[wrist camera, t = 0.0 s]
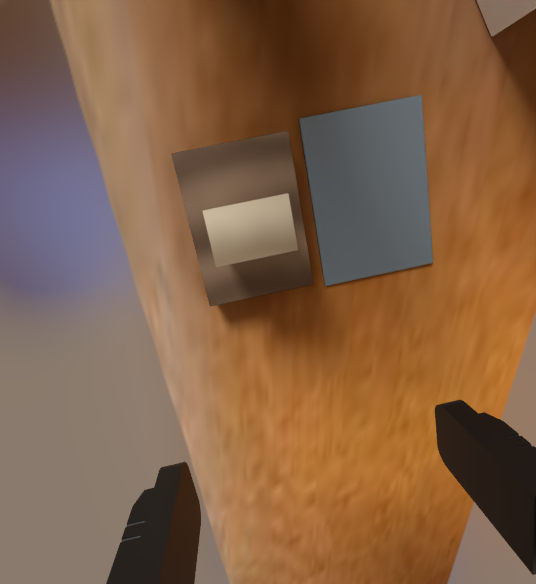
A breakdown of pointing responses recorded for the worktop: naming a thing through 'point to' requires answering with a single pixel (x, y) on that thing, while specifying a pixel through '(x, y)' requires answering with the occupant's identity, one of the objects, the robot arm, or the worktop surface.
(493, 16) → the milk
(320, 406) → the worktop surface
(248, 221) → the birch block
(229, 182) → the plate
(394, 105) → the rubber mat
